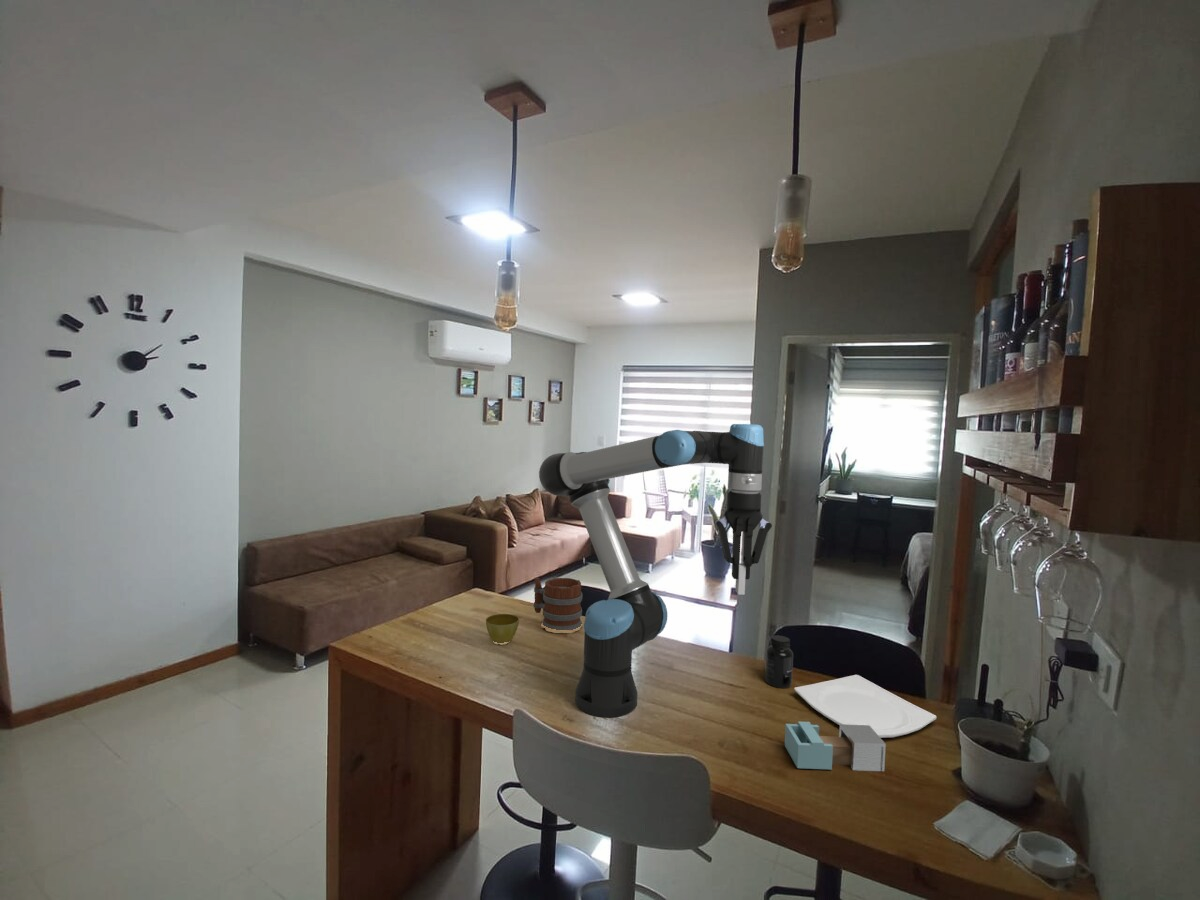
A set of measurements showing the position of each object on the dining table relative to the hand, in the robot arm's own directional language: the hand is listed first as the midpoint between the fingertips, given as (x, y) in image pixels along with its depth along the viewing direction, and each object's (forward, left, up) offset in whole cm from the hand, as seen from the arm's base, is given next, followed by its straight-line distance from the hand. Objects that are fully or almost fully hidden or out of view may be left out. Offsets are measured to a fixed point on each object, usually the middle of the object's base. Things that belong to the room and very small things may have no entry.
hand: (739, 592), depth 123 cm
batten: (+18, -15, -30) cm, 38 cm away
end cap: (+22, -15, -29) cm, 40 cm away
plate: (+32, +5, -30) cm, 44 cm away
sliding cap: (+12, -15, -29) cm, 35 cm away
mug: (-47, +54, -30) cm, 78 cm away
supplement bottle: (+16, +18, -30) cm, 38 cm away
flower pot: (-62, +38, -30) cm, 79 cm away
